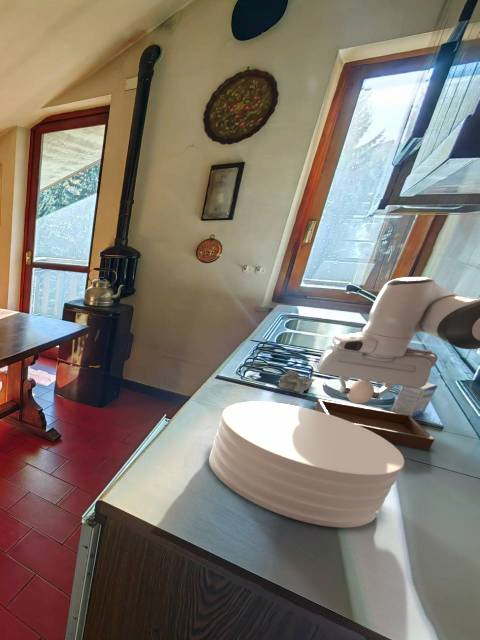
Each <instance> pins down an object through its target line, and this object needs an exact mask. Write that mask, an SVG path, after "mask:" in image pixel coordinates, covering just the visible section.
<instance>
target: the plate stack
mask: <svg viewBox="0 0 480 640" xmlns="http://www.w3.org/2000/svg"><path fill="white" fill-rule="evenodd" d="M214 436H215V437H214V440H213V443H212V447H211V451H210V453H209V457H208V462H209V466H210V468H211V470H212V472H213V473H214V475H215V476H216V477H217V478H218V479H219V480H220V481H221V482H222V483H223V484H224V485H225V486H227V488H229V489H230V490H232V491H233V492H235V493H236V494H238V495H239V496H241V497H242V498H244V499H246V500H247V501H249V502H252V503H253V504H255V505H257V506H259V507H261V508H263V509H266V510H268V511H270V512H273V513H275V514H277V515H278V514H279V515H281V516H283V517H287V518H290V519H293V520H296V521H299V522H303V523H307V524H311V525H316V526H321V527H328V528H329V527H330V528H344V529H345V528H348V529H349V528H358V527H363V526H366V525H368V524H370V523H371V522H373V521H374V520H375V519H376V518H377V515H378V514H379V512H380V510H381V508H382V506H383V504H384V503H385V502H386V501H385V500H386V498H387V497H388V495H389V493H390V491H391V489H392V488H393V487H392V486H393V485H394V484H395V482H396V480H397V479H398V476H399V474H400V473H401V471H402V470H403V467H404V466H405V458H404V456H403V454H402V453H401V451H400V450H399V449H398V448H397V447H396V446H394V445H393V443H390V442H388V441H387V440H385V439H384V438H382V437H380V436H379V435H377V434H375V433H373V432H371V431H369V430H367V429H365V428H363V427H361V426H359V425H356V424H354V423H352V422H349V421H346V420H344V419H341V418H338V417H335V416H332V415H329V414H326V413H322V412H319V411H316V410H315V409H311V408H307V407H302V406H298V405H292V404H286V403H279V402H271V401H270V402H269V401H243V402H237V403H233V404H231V405H229V406H226V407H225V408H224V409H223V411H222V413H221V416H220V421H219V423H218V426H217V431H216V433H215V435H214Z"/></svg>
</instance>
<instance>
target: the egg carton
mask: <svg viewBox="0 0 480 640" xmlns="http://www.w3.org/2000/svg"><path fill="white" fill-rule="evenodd" d="M278 381H279V383H278V385H277V387H279V388H281V389H284V390H285V389H286V390H291V391H293V392H296V393H304V391H307V390H308V389H310V388H311V387H312V384H313V382H315V381H316V378H312V377H306V376H305V375H303V377H301V376H299V372H297V371H294V369H289V370H288V371H287V372H286V373H284V374H283V375H282V376H280V378H279V379H278Z"/></svg>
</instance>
